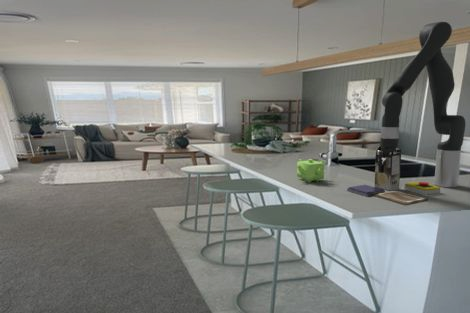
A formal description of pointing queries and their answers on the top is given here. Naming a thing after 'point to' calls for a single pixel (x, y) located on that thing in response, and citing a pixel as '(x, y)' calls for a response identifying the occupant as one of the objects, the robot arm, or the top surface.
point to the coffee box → (389, 173)
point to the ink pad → (365, 190)
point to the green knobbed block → (310, 170)
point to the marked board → (401, 197)
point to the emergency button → (422, 188)
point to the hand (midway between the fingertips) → (387, 171)
